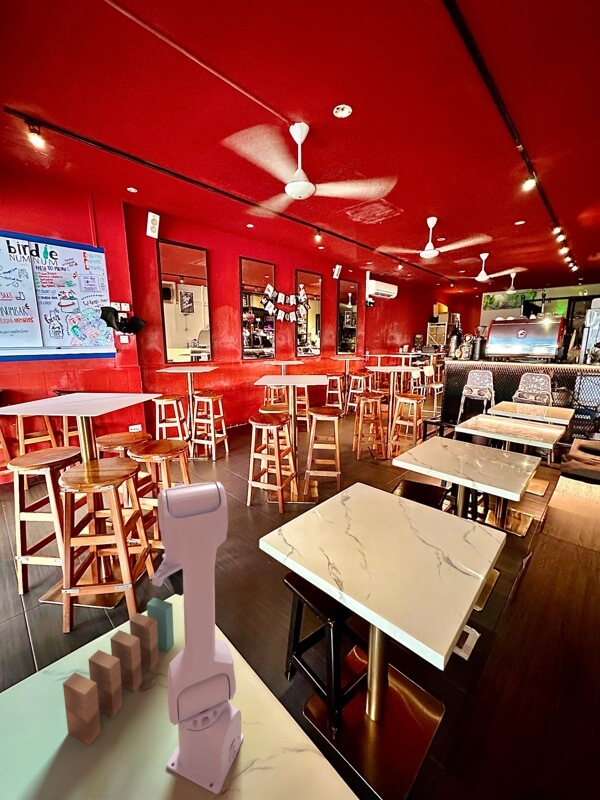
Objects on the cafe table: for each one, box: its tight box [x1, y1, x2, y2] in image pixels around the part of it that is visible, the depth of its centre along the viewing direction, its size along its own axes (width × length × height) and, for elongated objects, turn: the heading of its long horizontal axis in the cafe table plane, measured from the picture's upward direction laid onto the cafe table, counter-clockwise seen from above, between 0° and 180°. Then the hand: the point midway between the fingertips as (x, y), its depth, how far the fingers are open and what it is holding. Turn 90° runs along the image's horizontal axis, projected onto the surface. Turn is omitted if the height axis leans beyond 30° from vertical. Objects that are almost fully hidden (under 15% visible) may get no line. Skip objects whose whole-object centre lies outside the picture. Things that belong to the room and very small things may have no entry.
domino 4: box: [129, 612, 160, 671], centre depth 68 cm, size 5×2×10 cm, turn 71°
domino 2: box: [88, 649, 124, 718], centre depth 59 cm, size 5×2×10 cm, turn 71°
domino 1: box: [62, 672, 102, 746], centre depth 55 cm, size 5×2×10 cm, turn 71°
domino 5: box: [146, 597, 175, 653], centre depth 72 cm, size 5×2×10 cm, turn 71°
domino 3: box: [110, 629, 143, 693], centre depth 64 cm, size 5×2×10 cm, turn 71°
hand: (179, 592), depth 78 cm, fingers closed
